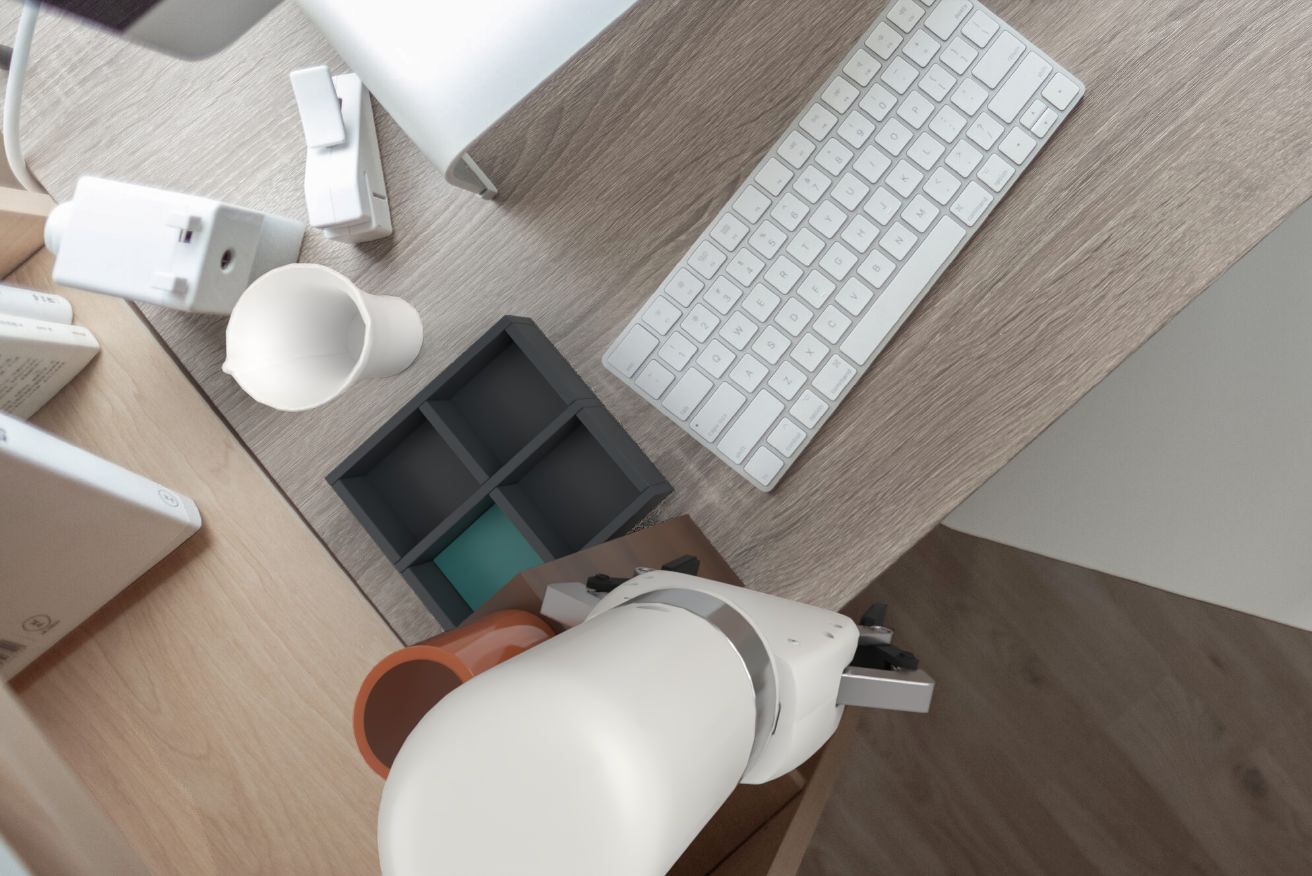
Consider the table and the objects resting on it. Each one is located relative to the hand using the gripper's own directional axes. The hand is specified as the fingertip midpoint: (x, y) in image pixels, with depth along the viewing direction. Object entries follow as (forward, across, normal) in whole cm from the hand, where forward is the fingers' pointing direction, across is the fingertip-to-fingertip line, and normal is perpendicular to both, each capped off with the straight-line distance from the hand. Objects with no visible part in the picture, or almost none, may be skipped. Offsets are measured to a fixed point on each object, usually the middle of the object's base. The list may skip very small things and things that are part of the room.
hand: (779, 610), depth 58 cm
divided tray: (+18, -23, 0) cm, 29 cm away
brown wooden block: (+18, -10, -4) cm, 21 cm away
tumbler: (-6, -10, -4) cm, 12 cm away
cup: (+18, -34, +6) cm, 39 cm away
